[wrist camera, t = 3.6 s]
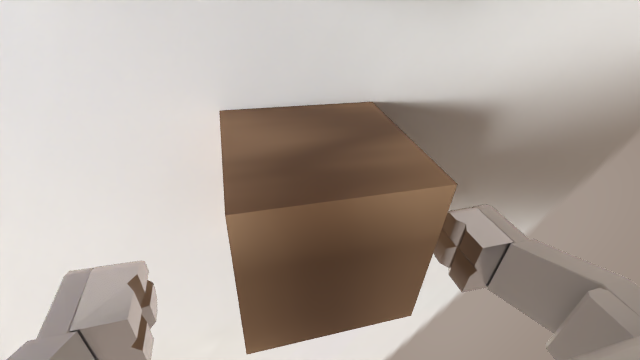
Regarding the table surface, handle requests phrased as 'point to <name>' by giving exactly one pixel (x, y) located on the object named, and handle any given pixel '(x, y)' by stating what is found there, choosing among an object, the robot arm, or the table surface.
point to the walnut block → (326, 219)
